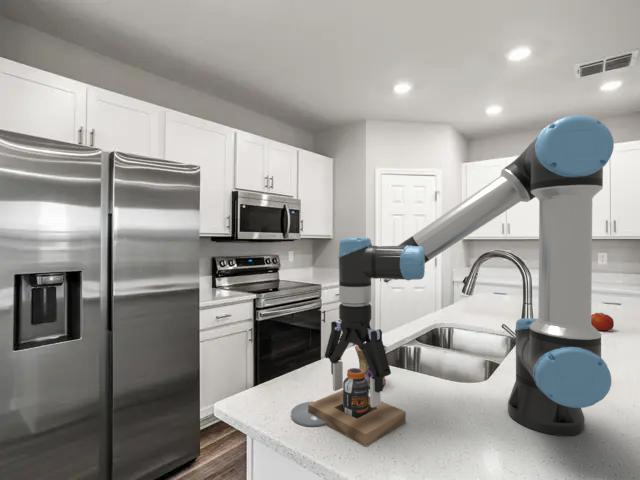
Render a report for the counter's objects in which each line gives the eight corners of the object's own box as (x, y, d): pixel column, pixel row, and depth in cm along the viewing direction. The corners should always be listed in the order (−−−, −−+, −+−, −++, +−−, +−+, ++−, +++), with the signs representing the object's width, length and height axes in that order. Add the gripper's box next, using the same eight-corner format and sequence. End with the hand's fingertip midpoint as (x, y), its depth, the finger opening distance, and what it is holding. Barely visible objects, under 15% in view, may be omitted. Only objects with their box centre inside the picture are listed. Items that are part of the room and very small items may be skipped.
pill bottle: (351, 427, 80) (351, 377, 80) (338, 416, 85) (338, 368, 85) (373, 421, 83) (373, 372, 83) (359, 410, 88) (359, 364, 88)
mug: (393, 386, 102) (393, 349, 102) (365, 392, 98) (365, 353, 98) (371, 372, 113) (371, 338, 113) (345, 377, 110) (345, 342, 109)
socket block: (405, 422, 82) (405, 411, 82) (365, 446, 73) (365, 434, 73) (348, 397, 95) (348, 387, 95) (308, 414, 86) (308, 404, 86)
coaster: (346, 415, 86) (346, 412, 86) (311, 432, 78) (311, 429, 78) (315, 400, 94) (315, 397, 94) (281, 414, 86) (281, 411, 86)
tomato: (582, 328, 167) (582, 310, 167) (600, 327, 168) (600, 310, 168) (600, 333, 158) (600, 315, 158) (619, 332, 159) (619, 314, 159)
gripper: (407, 308, 78) (407, 408, 78) (331, 295, 95) (332, 378, 95) (385, 313, 73) (386, 420, 73) (310, 299, 90) (310, 386, 90)
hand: (355, 396), depth 84 cm, fingers open, 11 cm apart
